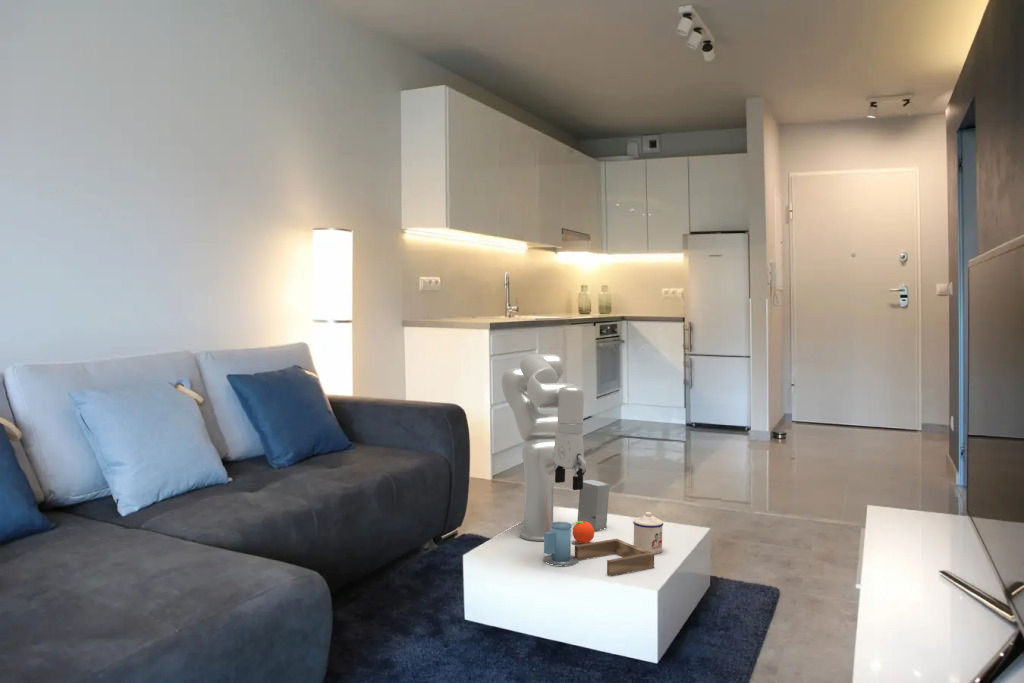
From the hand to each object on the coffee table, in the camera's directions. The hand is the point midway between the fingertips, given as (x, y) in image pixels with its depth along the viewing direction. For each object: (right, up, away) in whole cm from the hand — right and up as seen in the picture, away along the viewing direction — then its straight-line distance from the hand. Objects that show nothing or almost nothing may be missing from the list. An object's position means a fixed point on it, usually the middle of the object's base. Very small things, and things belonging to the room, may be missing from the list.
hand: (568, 485), depth 221 cm
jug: (-3, -21, -3) cm, 21 cm away
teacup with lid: (+26, -22, +11) cm, 36 cm away
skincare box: (+11, -21, +35) cm, 42 cm away
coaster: (-2, -22, -2) cm, 22 cm away
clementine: (+5, -22, +16) cm, 28 cm away
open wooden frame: (+12, -22, -4) cm, 25 cm away
